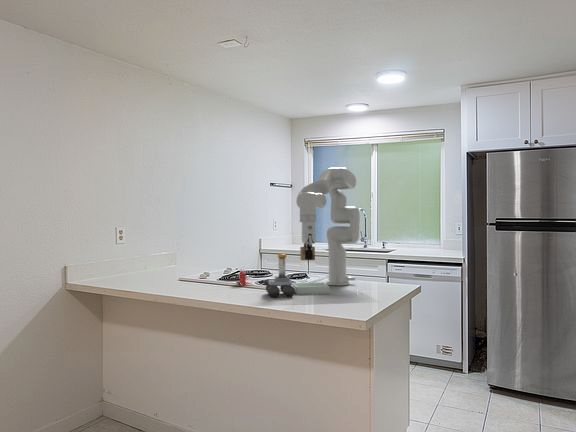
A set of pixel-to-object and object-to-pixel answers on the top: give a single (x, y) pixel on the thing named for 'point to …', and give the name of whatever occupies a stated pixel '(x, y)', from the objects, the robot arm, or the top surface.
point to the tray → (311, 288)
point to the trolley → (285, 287)
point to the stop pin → (282, 265)
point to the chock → (302, 253)
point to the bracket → (242, 278)
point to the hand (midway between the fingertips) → (307, 258)
